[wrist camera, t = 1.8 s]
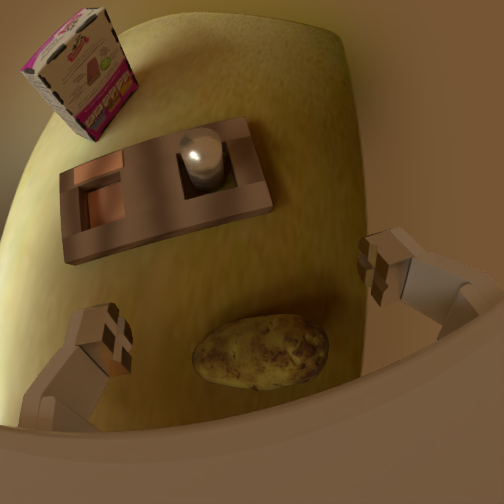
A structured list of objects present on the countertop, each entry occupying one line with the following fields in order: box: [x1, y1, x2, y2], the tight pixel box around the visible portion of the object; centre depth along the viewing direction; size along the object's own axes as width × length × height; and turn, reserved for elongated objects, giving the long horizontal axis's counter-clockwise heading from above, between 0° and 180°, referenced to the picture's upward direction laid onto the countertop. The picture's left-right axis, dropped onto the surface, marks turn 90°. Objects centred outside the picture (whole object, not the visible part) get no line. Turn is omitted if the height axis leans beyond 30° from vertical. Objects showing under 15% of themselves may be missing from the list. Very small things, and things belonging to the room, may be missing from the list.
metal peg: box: [180, 128, 225, 194], centre depth 29 cm, size 4×4×8 cm
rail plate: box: [60, 116, 273, 266], centre depth 31 cm, size 25×12×3 cm, turn 105°
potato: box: [192, 314, 329, 391], centre depth 27 cm, size 8×13×8 cm, turn 81°
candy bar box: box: [20, 8, 139, 142], centre depth 26 cm, size 11×5×16 cm, turn 154°
